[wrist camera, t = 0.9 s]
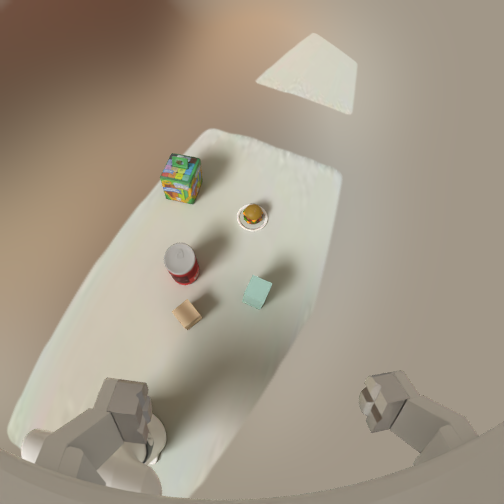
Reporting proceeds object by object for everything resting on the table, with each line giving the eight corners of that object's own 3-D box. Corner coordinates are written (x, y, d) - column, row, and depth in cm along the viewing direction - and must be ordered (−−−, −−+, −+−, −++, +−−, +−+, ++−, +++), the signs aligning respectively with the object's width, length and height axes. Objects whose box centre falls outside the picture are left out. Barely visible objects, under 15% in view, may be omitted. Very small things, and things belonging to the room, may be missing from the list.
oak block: (187, 330, 74) (184, 327, 68) (176, 315, 75) (171, 311, 69) (202, 318, 75) (200, 314, 69) (190, 303, 76) (187, 299, 71)
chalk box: (165, 199, 86) (156, 170, 72) (176, 175, 90) (168, 145, 76) (194, 205, 86) (188, 177, 72) (203, 180, 89) (200, 150, 76)
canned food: (194, 254, 81) (189, 238, 71) (203, 280, 79) (199, 268, 68) (168, 262, 80) (160, 248, 69) (176, 289, 77) (168, 278, 67)
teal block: (259, 309, 77) (264, 302, 68) (242, 301, 77) (244, 293, 68) (267, 292, 79) (272, 283, 69) (250, 285, 79) (252, 274, 70)
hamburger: (228, 234, 84) (228, 226, 79) (234, 198, 89) (234, 189, 84) (270, 240, 85) (273, 232, 80) (274, 203, 89) (276, 194, 84)
